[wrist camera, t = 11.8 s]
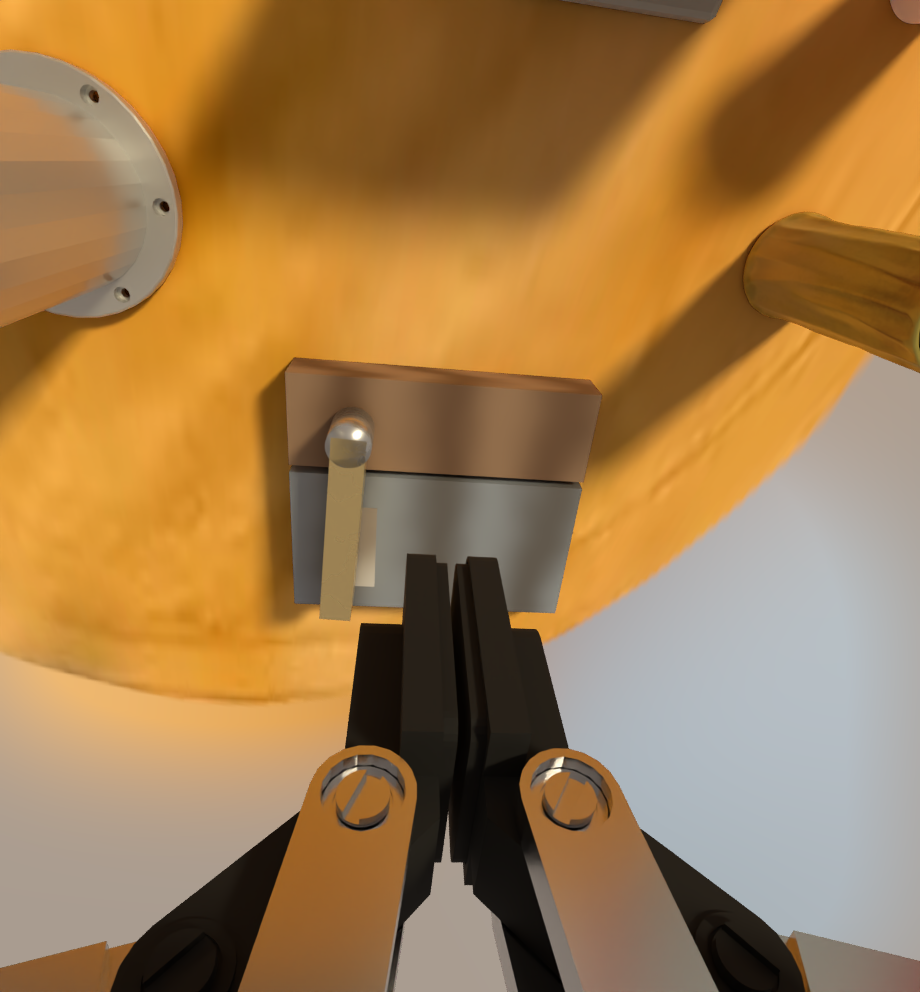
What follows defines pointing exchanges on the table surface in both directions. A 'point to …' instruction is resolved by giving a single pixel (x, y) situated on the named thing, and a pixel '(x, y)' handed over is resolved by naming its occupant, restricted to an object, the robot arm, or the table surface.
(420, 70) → the table surface
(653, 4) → the toy computer monitor
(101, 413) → the table surface
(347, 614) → the latch bar
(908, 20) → the smoothie
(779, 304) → the vase
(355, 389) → the door mockup
